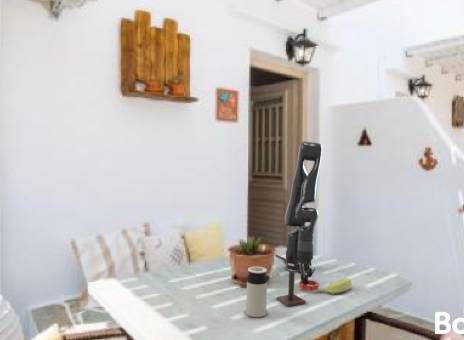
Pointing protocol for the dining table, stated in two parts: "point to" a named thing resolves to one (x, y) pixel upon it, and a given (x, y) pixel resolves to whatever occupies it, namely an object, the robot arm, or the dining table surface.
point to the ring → (307, 287)
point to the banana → (338, 286)
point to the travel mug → (256, 292)
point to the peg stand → (291, 294)
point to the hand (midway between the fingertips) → (304, 284)
